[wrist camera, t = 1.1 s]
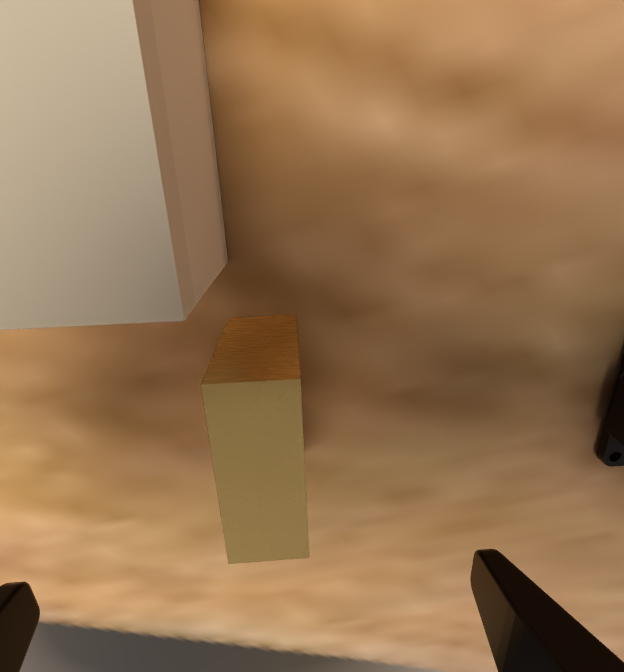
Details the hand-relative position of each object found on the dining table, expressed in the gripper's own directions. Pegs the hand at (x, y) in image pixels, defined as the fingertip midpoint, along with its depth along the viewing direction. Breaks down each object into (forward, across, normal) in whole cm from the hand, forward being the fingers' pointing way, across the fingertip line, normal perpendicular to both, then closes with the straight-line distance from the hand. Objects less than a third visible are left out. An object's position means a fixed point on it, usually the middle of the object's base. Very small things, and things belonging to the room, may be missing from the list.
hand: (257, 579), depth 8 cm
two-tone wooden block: (+8, 0, 0) cm, 8 cm away
